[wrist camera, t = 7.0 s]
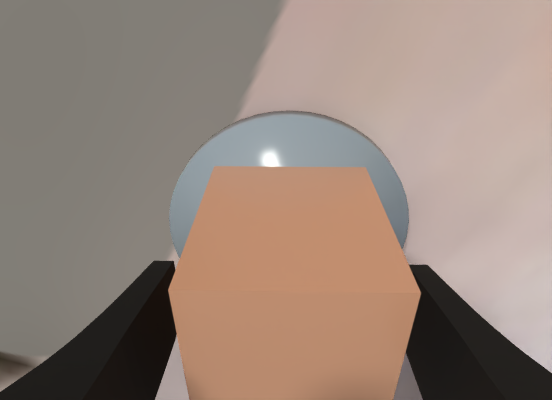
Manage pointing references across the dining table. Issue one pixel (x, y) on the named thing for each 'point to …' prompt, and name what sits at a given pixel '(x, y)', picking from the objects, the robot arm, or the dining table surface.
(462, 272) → the dining table surface
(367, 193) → the peach matte cube
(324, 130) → the saucer
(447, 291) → the robot arm
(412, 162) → the dining table surface
